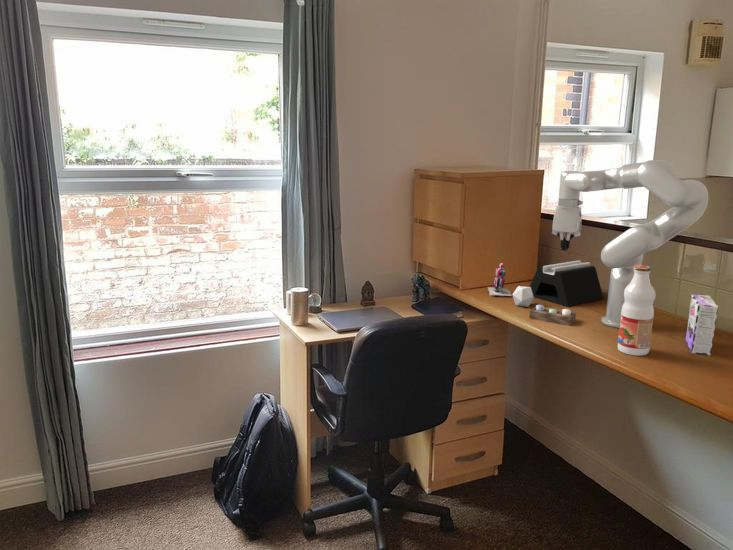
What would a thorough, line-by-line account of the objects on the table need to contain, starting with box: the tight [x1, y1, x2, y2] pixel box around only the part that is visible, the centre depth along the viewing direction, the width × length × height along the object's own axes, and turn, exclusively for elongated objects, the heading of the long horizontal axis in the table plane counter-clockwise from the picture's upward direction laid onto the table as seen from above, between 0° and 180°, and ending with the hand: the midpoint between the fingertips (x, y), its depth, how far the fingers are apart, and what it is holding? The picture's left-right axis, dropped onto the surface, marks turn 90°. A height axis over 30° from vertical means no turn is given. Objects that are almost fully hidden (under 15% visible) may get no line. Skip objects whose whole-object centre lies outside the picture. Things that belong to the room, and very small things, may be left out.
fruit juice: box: [617, 264, 656, 357], centre depth 183 cm, size 9×9×28 cm
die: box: [511, 285, 535, 308], centre depth 237 cm, size 8×9×10 cm
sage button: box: [549, 308, 558, 314], centre depth 219 cm, size 3×3×4 cm
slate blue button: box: [535, 304, 545, 311], centre depth 222 cm, size 3×3×4 cm
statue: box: [487, 262, 513, 298], centre depth 254 cm, size 11×9×15 cm
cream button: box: [561, 308, 572, 316], centre depth 216 cm, size 3×3×4 cm
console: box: [529, 306, 577, 326], centre depth 219 cm, size 15×8×3 cm, turn 55°
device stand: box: [529, 260, 604, 308], centre depth 249 cm, size 22×22×15 cm
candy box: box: [685, 293, 719, 356], centre depth 188 cm, size 14×6×16 cm, turn 159°
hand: (564, 249), depth 227 cm, fingers closed
